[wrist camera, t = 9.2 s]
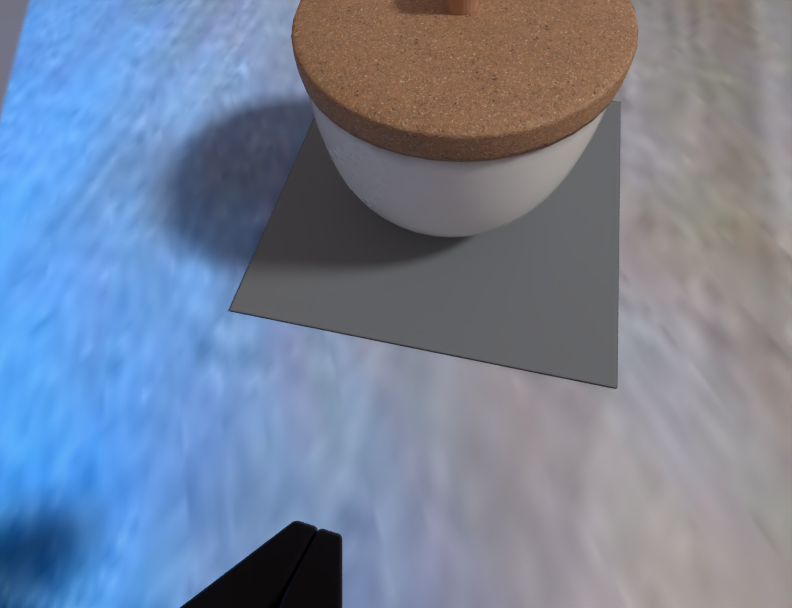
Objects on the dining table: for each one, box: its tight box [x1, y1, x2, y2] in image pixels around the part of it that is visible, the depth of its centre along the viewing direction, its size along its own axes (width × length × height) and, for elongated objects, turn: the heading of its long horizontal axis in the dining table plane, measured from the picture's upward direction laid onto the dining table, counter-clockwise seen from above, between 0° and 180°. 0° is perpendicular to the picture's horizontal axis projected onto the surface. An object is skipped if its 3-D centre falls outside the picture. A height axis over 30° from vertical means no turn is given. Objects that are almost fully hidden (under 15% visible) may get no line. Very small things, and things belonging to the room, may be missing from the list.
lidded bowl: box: [291, 0, 638, 237], centre depth 19 cm, size 13×13×11 cm
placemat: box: [230, 101, 621, 389], centre depth 24 cm, size 18×18×1 cm
